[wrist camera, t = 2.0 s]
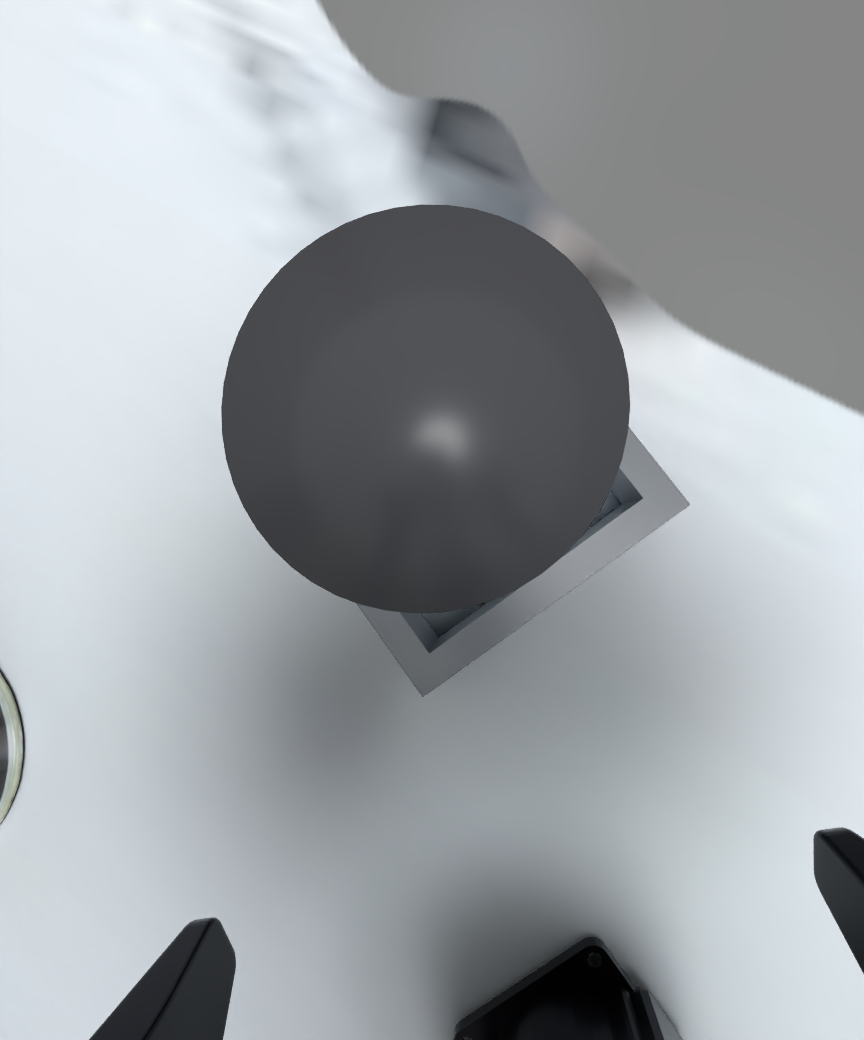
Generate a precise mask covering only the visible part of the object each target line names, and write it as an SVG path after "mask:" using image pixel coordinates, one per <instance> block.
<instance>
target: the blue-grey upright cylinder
mask: <svg viewBox="0 0 864 1040" xmlns="http://www.w3.org/2000/svg"><path fill="white" fill-rule="evenodd" d="M629 411H630V396H629V380H628V373H627V368H626V363H625V358H624V353H623V349H622V346H621V343H620V340H619V337H618V334H617V332H616V329H615V326H614V323H613V321H612V319H611V317H610V315H609V313H608V312H607V310H606V308H605V306H604V304H603V302H602V300H601V298H600V297H599V295H598V294H597V293H596V291H595V290H594V288H593V287H592V286H591V284H590V283H589V281H588V280H587V278H586V277H585V276H584V275H583V274H582V273H581V272H580V271H579V270H578V269H577V267H576V266H575V265H574V264H573V263H572V262H571V261H570V260H569V259H568V258H567V257H566V256H565V255H564V254H562V253H561V252H560V251H559V250H557V249H556V248H555V247H554V246H552V245H551V244H550V243H549V242H547V241H546V240H545V239H543V238H541V237H540V236H538V235H536V234H535V233H533V232H531V231H530V230H528V229H526V228H525V227H523V226H521V225H518V224H516V223H514V222H511V221H509V220H507V219H505V218H502V217H500V216H497V215H493V214H490V213H486V212H483V211H479V210H476V209H471V208H464V207H457V206H450V205H415V206H406V207H398V208H392V209H388V210H384V211H380V212H376V213H372V214H368V215H366V216H363V217H361V218H358V219H356V220H353V221H350V222H348V223H345V224H343V225H341V226H339V227H338V228H336V229H334V230H332V231H330V232H328V233H326V234H325V235H323V236H321V237H320V238H318V239H317V240H315V241H314V242H313V243H311V244H310V245H308V246H307V247H306V248H304V249H303V250H301V251H300V252H299V253H298V254H297V255H296V256H295V257H293V258H292V259H291V260H290V261H289V262H288V263H287V264H286V265H285V266H284V267H283V268H281V269H280V271H279V272H278V273H277V274H276V275H275V276H274V278H273V279H272V280H271V281H270V282H269V283H268V285H267V286H266V287H265V288H264V290H263V291H262V293H261V294H260V296H259V297H258V299H257V300H256V302H255V303H254V305H253V306H252V308H251V309H250V311H249V313H248V315H247V317H246V319H245V321H244V323H243V325H242V327H241V329H240V331H239V333H238V335H237V338H236V341H235V344H234V346H233V349H232V352H231V355H230V358H229V362H228V367H227V371H226V376H225V380H224V387H223V398H222V435H223V441H224V448H225V454H226V460H227V463H228V467H229V470H230V474H231V477H232V480H233V484H234V486H235V488H236V491H237V493H238V495H239V497H240V500H241V502H242V504H243V507H244V508H245V510H246V512H247V513H248V515H249V517H250V518H251V520H252V522H253V523H254V525H255V527H256V528H257V530H258V531H259V532H260V534H261V535H262V536H263V537H264V539H265V540H266V541H267V542H268V544H269V545H270V546H271V547H272V549H273V550H274V551H275V552H276V553H277V554H279V555H280V556H281V557H282V558H283V559H284V560H285V561H286V562H287V563H288V564H289V565H290V566H291V567H292V568H294V569H295V570H296V571H298V572H299V573H300V574H302V575H303V576H304V577H306V578H307V579H309V580H310V581H311V582H313V583H314V584H316V585H318V586H320V587H322V588H324V589H325V590H327V591H329V592H331V593H333V594H335V595H337V596H339V597H342V598H345V599H347V600H350V601H352V602H355V603H358V604H360V605H364V606H369V607H373V608H377V609H381V610H385V611H394V612H404V613H440V612H446V611H452V610H458V609H464V608H469V607H472V606H475V605H478V604H482V603H485V602H488V601H491V600H494V599H496V598H499V597H501V596H503V595H505V594H507V593H510V592H512V591H514V590H516V589H518V588H520V587H522V586H523V585H525V584H526V583H528V582H530V581H531V580H533V579H534V578H536V577H537V576H539V575H541V574H542V573H544V572H545V571H546V570H547V569H548V568H550V567H551V566H552V565H553V564H554V563H556V562H557V561H558V560H559V559H560V558H562V557H563V556H564V555H565V554H566V553H567V552H568V551H569V550H570V548H571V547H572V546H573V545H574V544H575V543H576V542H577V541H578V540H579V539H580V538H581V536H582V535H583V534H584V533H585V531H586V530H587V529H588V527H589V526H590V524H591V523H592V521H593V520H594V519H595V517H596V516H597V514H598V513H599V511H600V510H601V508H602V506H603V504H604V502H605V500H606V498H607V496H608V494H609V492H610V490H611V488H612V486H613V484H614V481H615V478H616V475H617V472H618V470H619V467H620V464H621V461H622V458H623V453H624V448H625V444H626V439H627V434H628V424H629Z"/></svg>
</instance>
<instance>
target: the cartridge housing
mask: <svg viewBox="0 0 864 1040" xmlns="http://www.w3.org/2000/svg"><path fill="white" fill-rule="evenodd" d="M611 491H612V492H613V494H614V495H615V496H616V498H617V499H618V500H619V501H620V503H621V504H622V505H621V506H619V507H618V508H616V509H615V510H614V511H612V512H611V513H610V514H608V515H607V516H605V517H604V518H603V519H601V520H600V521H599V522H597V523H596V524H594V525H593V526H592V527H590V528H589V529H588V530H586V531H585V533H584V534H583V535H582V536H581V538H580V539H579V540H578V541H577V542H576V543H575V544H574V545H573V546H572V547H571V548H570V550H569V551H568V552H567V553H566V554H565V555H564V556H563V557H562V558H560V559H559V560H558V561H557V562H556V563H554V564H553V565H552V566H551V567H550V568H548V569H547V570H546V571H545V572H544V573H542V574H541V575H539V576H537V577H536V578H534V579H533V580H531V581H530V582H528V583H526V584H525V585H523V586H522V587H520V588H518V589H516V590H514V591H512V592H510V593H507V594H505V595H503V596H501V597H499V598H496V599H494V600H491V601H489V602H487V603H486V604H484V605H483V606H482V607H480V608H479V609H478V610H476V611H475V612H473V613H472V614H471V615H469V616H468V617H467V618H465V619H464V620H462V621H461V622H460V623H458V624H457V625H456V626H454V627H453V628H451V629H450V630H449V631H447V632H446V633H445V634H443V635H442V636H440V637H438V636H437V635H436V633H435V632H434V630H433V629H432V628H431V626H430V625H429V623H428V622H427V621H426V619H425V618H424V616H423V615H422V614H421V613H404V612H394V611H385V610H381V609H377V608H373V607H369V606H364V605H360V604H358V603H357V605H358V606H359V608H360V609H361V611H362V612H363V613H364V615H365V616H366V618H367V619H368V620H369V622H370V623H371V625H372V626H373V628H374V629H375V630H376V632H377V633H378V635H379V636H380V637H381V639H382V640H383V642H384V643H385V645H386V646H387V647H388V649H389V650H390V652H391V653H392V654H393V656H394V657H395V659H396V660H397V662H398V663H399V664H400V666H401V667H402V669H403V670H404V671H405V673H406V674H407V676H408V677H409V679H410V680H411V681H412V683H413V684H414V686H415V687H416V688H417V690H418V691H419V693H420V694H421V696H422V697H424V696H425V695H427V694H428V693H429V692H431V691H432V690H433V689H435V688H436V687H438V686H439V685H440V684H442V683H443V682H445V681H446V680H447V679H449V678H450V677H452V676H453V675H454V674H456V673H457V672H458V671H460V670H461V669H463V668H464V667H465V666H467V665H468V664H470V663H471V662H472V661H474V660H475V659H477V658H478V657H479V656H481V655H482V654H483V653H485V652H486V651H488V650H489V649H490V648H492V647H493V646H495V645H496V644H497V643H499V642H500V641H502V640H503V639H504V638H506V637H507V636H508V635H510V634H511V633H513V632H514V631H515V630H517V629H518V628H520V627H521V626H522V625H524V624H525V623H527V622H528V621H529V620H531V619H532V618H533V617H535V616H536V615H538V614H539V613H540V612H542V611H543V610H545V609H546V608H547V607H549V606H550V605H552V604H553V603H554V602H556V601H557V600H558V599H560V598H561V597H563V596H564V595H565V594H567V593H568V592H570V591H571V590H572V589H574V588H575V587H577V586H578V585H579V584H581V583H582V582H583V581H585V580H586V579H588V578H589V577H590V576H592V575H593V574H595V573H596V572H597V571H599V570H600V569H602V568H603V567H604V566H606V565H607V564H608V563H610V562H611V561H613V560H614V559H615V558H617V557H618V556H620V555H621V554H622V553H624V552H625V551H627V550H628V549H629V548H631V547H632V546H633V545H635V544H636V543H638V542H639V541H640V540H642V539H643V538H645V537H646V536H647V535H649V534H650V533H652V532H653V531H654V530H656V529H657V528H659V527H660V526H661V525H663V524H664V523H665V522H667V521H668V520H670V519H671V518H672V517H674V516H675V515H677V514H678V513H679V512H681V511H682V510H684V509H685V508H686V507H688V506H689V505H690V504H689V502H688V501H687V500H686V498H685V497H684V496H683V495H682V493H681V492H680V491H679V490H678V488H677V487H676V486H675V485H674V483H673V482H672V481H671V480H670V478H669V477H668V476H667V475H666V473H665V472H664V471H663V470H662V468H661V467H660V466H659V465H658V463H657V462H656V461H655V460H654V458H653V457H652V456H651V455H650V453H649V452H648V451H647V450H646V448H645V447H644V446H643V445H642V443H641V442H640V441H639V439H638V438H637V437H636V436H635V434H634V433H633V432H632V431H631V429H630V428H629V427H628V434H627V439H626V444H625V448H624V453H623V458H622V461H621V464H620V467H619V470H618V472H617V475H616V478H615V481H614V484H613V486H612V488H611Z"/></svg>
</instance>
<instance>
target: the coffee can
mask: <svg viewBox="0 0 864 1040" xmlns="http://www.w3.org/2000/svg"><path fill="white" fill-rule="evenodd" d="M22 761H23V735H22V726H21V721H20V716H19V712H18V708H17V705H16V702H15V699H14V697H13V694H12V692H11V690H10V688H9V686H8V685H7V683H6V681H5V680H4V678H3V677H2V675H1V673H0V824H1V822H2V820H3V819H4V817H5V816H6V814H7V812H8V810H9V808H10V806H11V803H12V801H13V799H14V796H15V794H16V791H17V788H18V785H19V781H20V774H21V768H22Z"/></svg>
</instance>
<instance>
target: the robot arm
mask: <svg viewBox="0 0 864 1040" xmlns="http://www.w3.org/2000/svg"><path fill="white" fill-rule="evenodd" d="M814 875H815V879H816V883H817V885H818V888H819V890H820V892H821V894H822V896H823V898H824V900H825V902H826V904H827V905H828V907H829V909H830V911H831V913H832V915H833V917H834V919H835V921H836V922H837V924H838V926H839V928H840V930H841V932H842V934H843V936H844V938H845V939H846V941H847V943H848V945H849V947H850V949H851V951H852V953H853V955H854V957H855V958H856V960H857V962H858V964H859V966H860V968H861V970H862V972H863V974H864V838H862V837H861V836H859V835H858V834H856V833H855V832H853V831H851V830H849V829H846V828H832V829H825V830H819V831H817V832H816V833H815V835H814ZM593 952H595V953H598V954H599V956H598V958H595V959H591V958H589V957H588V955H589V954H590V953H593ZM235 968H236V957H235V952H234V949H233V947H232V945H231V943H230V941H229V939H228V937H227V935H226V932H225V930H224V928H223V926H222V924H221V922H220V921H219V920H218V919H217V918H205V919H198V920H194V921H192V922H190V923H189V924H188V925H187V926H186V927H185V928H184V929H183V930H182V931H181V932H180V933H179V935H178V936H177V937H176V938H175V939H174V941H173V942H172V943H171V944H170V945H169V946H168V948H167V949H166V950H165V951H164V952H163V953H162V955H161V956H160V957H159V958H158V959H157V961H156V962H155V963H154V964H153V965H152V966H151V968H150V969H149V970H148V971H147V972H146V973H145V975H144V976H143V977H142V978H141V979H140V981H139V982H138V983H137V984H136V985H135V986H134V988H133V989H132V990H131V991H130V992H129V993H128V995H127V996H126V997H125V998H124V999H123V1001H122V1002H121V1003H120V1004H119V1005H118V1006H117V1008H116V1009H115V1010H114V1011H113V1012H112V1013H111V1015H110V1016H109V1017H108V1018H107V1019H106V1021H105V1022H104V1023H103V1024H102V1025H101V1026H100V1028H99V1029H98V1030H97V1031H96V1032H95V1033H94V1035H93V1036H92V1037H91V1038H90V1039H89V1040H223V1036H224V1030H225V1025H226V1019H227V1014H228V1008H229V1003H230V997H231V991H232V986H233V980H234V975H235ZM466 1036H468V1037H471V1038H472V1039H473V1040H683V1039H682V1037H681V1036H680V1034H679V1033H678V1032H677V1030H676V1029H675V1027H674V1026H673V1025H672V1023H671V1022H670V1020H669V1019H668V1018H667V1016H666V1015H665V1013H664V1012H663V1010H662V1009H661V1008H660V1006H659V1005H658V1003H657V1002H656V1001H655V999H654V998H653V996H652V995H651V994H650V992H649V991H648V990H646V989H643V988H641V987H638V988H637V989H636V988H635V987H634V985H633V984H632V982H631V981H630V980H629V978H628V977H627V975H626V974H625V973H624V971H623V970H622V968H621V967H620V965H619V964H618V963H617V961H616V960H615V958H614V957H613V956H612V954H611V953H610V951H609V950H608V949H607V947H606V946H605V944H604V943H603V942H602V941H601V940H600V939H597V938H595V937H588V938H586V939H583V940H582V941H580V942H579V943H577V944H576V945H574V946H573V947H571V948H570V949H568V950H567V951H565V952H564V953H562V954H561V955H559V956H558V957H556V958H555V959H553V960H552V961H550V962H549V963H547V964H546V965H544V966H543V967H541V968H540V969H538V970H537V971H535V972H534V973H532V974H531V975H529V976H528V977H526V978H525V979H523V980H522V981H520V982H519V983H517V984H516V985H514V986H513V987H511V988H510V989H508V990H507V991H505V992H504V993H502V994H501V995H499V996H498V997H496V998H495V999H493V1000H492V1001H490V1002H489V1003H487V1004H486V1005H484V1006H482V1007H481V1008H479V1009H478V1010H476V1011H475V1012H473V1013H472V1014H470V1015H469V1016H467V1017H466V1018H464V1019H463V1020H461V1021H460V1022H459V1023H458V1024H457V1025H456V1027H455V1030H454V1040H464V1039H463V1037H466Z"/></svg>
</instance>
